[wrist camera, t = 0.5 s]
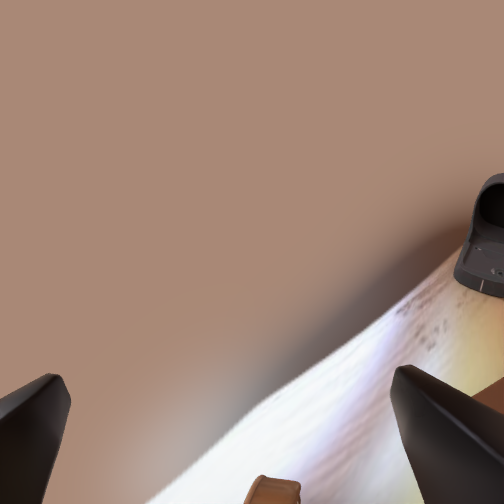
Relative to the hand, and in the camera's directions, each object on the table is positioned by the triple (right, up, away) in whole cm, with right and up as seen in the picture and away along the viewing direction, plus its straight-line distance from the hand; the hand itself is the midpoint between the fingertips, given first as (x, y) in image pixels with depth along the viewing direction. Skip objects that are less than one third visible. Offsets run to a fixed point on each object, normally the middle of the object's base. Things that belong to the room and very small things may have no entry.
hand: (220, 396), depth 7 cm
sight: (+35, +3, +28) cm, 45 cm away
